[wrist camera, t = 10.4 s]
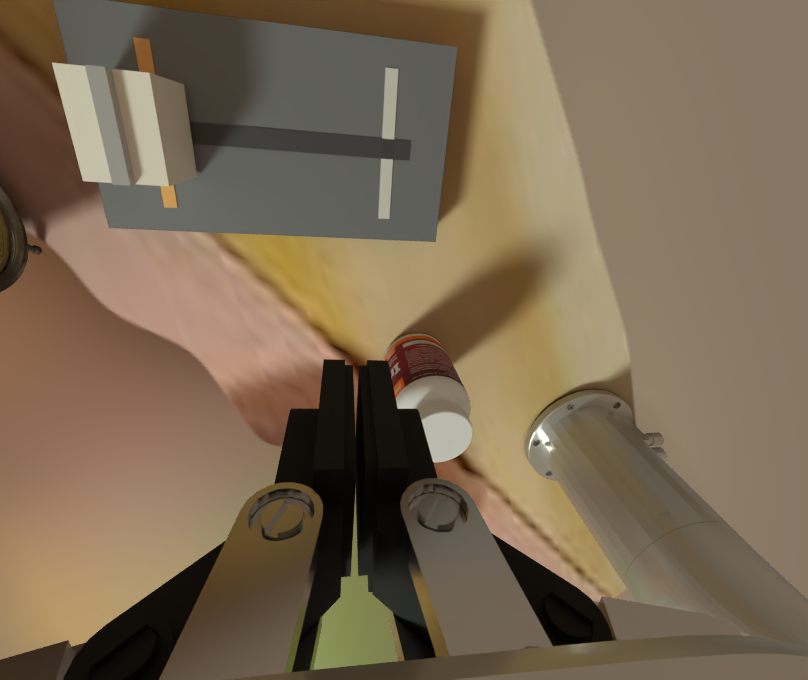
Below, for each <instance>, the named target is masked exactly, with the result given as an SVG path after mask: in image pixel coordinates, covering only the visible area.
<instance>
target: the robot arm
mask: <svg viewBox="0 0 808 680" xmlns="http://www.w3.org/2000/svg"><path fill="white" fill-rule="evenodd" d="M663 442H664V438H663V436H662V435H661V434H660V433H647V434H643V433H642V432H641V431H640V430H639V429H638V428H637V427H636V426H635V425H634V418H633V413H632V411H631V409H630V407H629V406H628V405H627V404H626V403H625V402H624V401H623V400H622V399H621V398H620V397H618V396H617V395H616V394H614V393H611V392H609V391H604V390H585V391H580V392H576V393H574V394H571V395H568V396H566V397H564V398H562V399H560V400H558V401H556V402H555V403H554V404H552V405H551V406H549V407H548V408H547V409H546V410H545V411H544V412H543V413H541V414H540V416H539V417H538V418H537V419H536V421H535V422H534V423H533V425H532V427H531V428H530V430H529V432H528V435H527V438H526V444H525V451H526V456H527V459H528V461H529V463H530V464H531V466H532V467H533V469H534V470H535V471H536V472H537V473H538V474H539V475H541V476H543V477H544V478H547V479H550V480H555V481H558V483H559V484H560V486H561V487H562V489H563V490H564V492H565V494H566V495H567V497H568V498H569V500H570V501H571V503H572V504H573V506H574V507H575V509H576V511H577V512H578V514H579V515H580V517H581V518H582V520H583V521H584V523H585V524H586V526H587V527H588V529H589V531H590V532H591V534H592V535H593V537H594V538H595V540H596V541H597V543H598V544H599V546H600V547H601V549H602V551H603V552H604V554H605V555H606V557H607V558H608V560H609V561H610V563H611V564H612V566H613V567H614V569H615V571H616V572H617V574H618V575H619V577H620V578H621V580H622V581H623V583H624V584H625V586H626V587H627V589H628V590H629V592H630V593H631V595H632V596H633V598H634V599H635V601H636V602H632V601H626V600H620V599H614V598H608V597H602V598H601V600H600V602H594V601H592V600H591V598H589V597H588V596H587V595H586V594H584V593H583V592H582V591H581V590H579V589H578V588H577V587H575V586H573V585H572V584H570V583H569V582H567V581H566V580H564V579H562V578H561V577H559V576H558V575H556V574H555V573H553V572H551V571H550V570H548V569H547V568H545V567H544V566H542V565H540V564H539V563H537V562H536V561H534V560H533V559H531V558H529V557H528V556H526V555H525V554H523V553H522V552H520V551H518V550H517V549H515V548H514V547H512V546H511V545H509V544H507V543H506V542H504V541H503V540H501V539H500V538H498V537H496V536H495V535H493V534H492V533H491V532H490V530H489V528H488V527H487V525H486V523H485V521H484V519H483V518H482V516H481V514H480V512H479V510H478V508H477V507H476V505H475V503H474V501H473V500H472V498H471V497H470V496H469V494H468V493H467V492H466V491H465V490H463V489H462V488H461V487H460V486H458V485H456V484H454V483H452V482H450V481H448V480H443V479H438V478H437V474H436V471H435V467H434V464H433V460H432V456H431V453H430V449H429V446H428V442H427V438H426V435H425V431H424V428H423V424H422V420H421V417H420V413H419V411H418V409H398V408H397V403H396V398H395V393H394V388H393V383H392V378H391V373H390V368H389V363H388V361H377V360H367V366H359V378H358V397H357V417H356V437H355V414H354V384H353V365H345V360H324V364H323V374H322V383H321V393H320V403H319V409H291V410H290V413H289V418H288V423H287V427H286V432H285V437H284V441H283V446H282V451H281V456H280V460H279V465H278V470H277V475H276V479H275V484H274V485H270V486H267V487H265V488H263V489H261V490H259V491H257V492H256V493H255V494H254V495H253V496H251V497H250V498H249V499H248V500H247V501H246V503H245V504H244V506H243V507H242V509H241V510H240V512H239V515H238V517H237V519H236V521H235V523H234V525H233V527H232V529H231V531H230V533H229V535H228V537H227V539H226V541H224V542H223V543H222V544H220V545H219V546H217V547H216V548H215V549H213V550H212V551H210V552H209V553H207V554H206V555H205V556H203V557H202V558H200V559H199V560H198V561H196V562H195V563H193V564H192V565H191V566H189V567H188V568H186V569H185V570H183V571H182V572H180V573H179V574H178V575H176V576H175V577H173V578H172V579H170V580H169V581H168V582H166V583H165V584H163V585H162V586H161V587H159V588H158V589H156V590H155V591H154V592H152V593H151V594H149V595H148V596H146V597H145V598H144V599H142V600H141V601H139V602H138V603H136V604H135V605H134V606H132V607H131V608H129V609H128V610H127V611H125V612H124V613H122V614H121V615H119V616H118V617H117V618H115V619H114V620H112V621H111V622H110V623H108V624H107V625H105V626H104V627H103V628H102V629H101V630H99V631H98V632H97V633H96V634H95V635H94V636H92V637H91V638H90V639H89V640H88V641H87V642H86V643H83V644H79V645H76V646H73V647H71V645H70V643H69V641H68V640H67V641H64V642H60V643H57V644H53V645H50V646H46V647H43V648H39V649H36V650H33V651H29V652H25V653H22V654H18V655H15V656H12V657H8V658H5V659H1V660H0V680H808V599H807V598H806V597H805V596H804V595H803V594H801V593H800V592H799V591H798V590H797V589H796V588H795V587H793V586H792V584H790V583H789V582H788V581H787V580H786V579H785V578H784V577H783V576H782V575H781V574H780V573H779V572H778V571H777V570H775V569H774V568H773V567H772V566H771V565H770V564H769V563H768V562H767V561H766V560H765V559H764V558H763V557H762V556H760V555H759V554H758V553H757V552H756V551H755V550H754V549H753V548H752V547H751V546H750V545H749V544H748V543H747V542H746V541H745V540H744V539H743V538H742V537H741V536H740V535H739V534H738V533H737V532H736V531H735V530H734V529H733V528H732V527H731V526H730V525H729V524H728V523H727V522H726V521H725V520H723V518H722V517H721V516H720V515H718V513H717V512H715V511H714V510H713V509H712V508H711V507H710V506H709V505H708V504H707V503H706V502H705V501H704V500H703V499H702V498H701V497H700V496H699V495H698V494H697V493H696V492H695V491H694V490H693V489H692V488H691V487H690V486H689V485H688V484H687V483H686V482H685V481H684V480H683V479H682V478H681V477H680V476H679V475H678V474H677V473H676V472H675V471H674V470H673V469H672V468H671V467H669V465H668V464H667V463H666V461H667V456H666V452H665V451H664V450H663V449H662V448H661V447H649V446H652V445H662V444H663ZM355 484H356V513H357V514H356V515H357V547H358V548H357V549H358V575H359V576H362V575H368V590H369V592H373V595H374V596H375V597H376V598H377V599H379V600H380V601H381V602H382V603H383V604H384V605H385V606H387V607H388V609H387V610H388V621H389V625H390V630H391V634H392V638H393V642H394V646H395V651H396V655H397V659H398V662H388V663H379V664H369V665H358V666H348V667H339V668H329V669H320V670H313V669H314V664H315V658H316V653H317V648H318V643H319V638H320V633H321V627H322V616H323V614H324V613H325V612H326V611H327V610H328V609H329V608H330V607H331V606H332V605H333V604H334V603H335V602H336V601H337V600H338V599H339V598H340V591H341V577H347V576H350V574H351V556H352V539H353V521H354V502H355Z"/></svg>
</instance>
